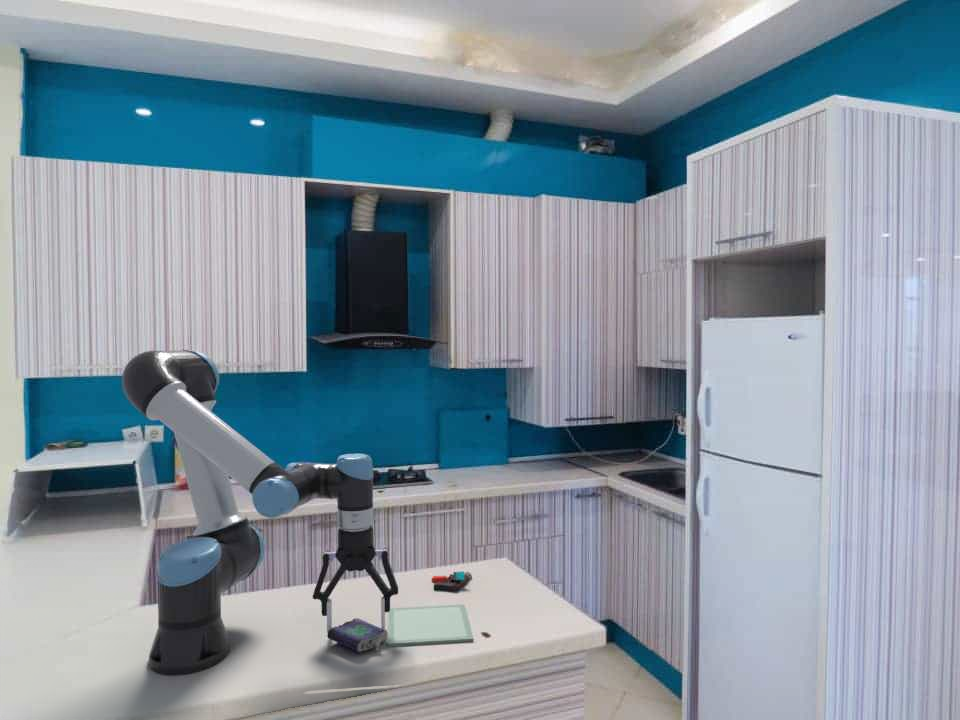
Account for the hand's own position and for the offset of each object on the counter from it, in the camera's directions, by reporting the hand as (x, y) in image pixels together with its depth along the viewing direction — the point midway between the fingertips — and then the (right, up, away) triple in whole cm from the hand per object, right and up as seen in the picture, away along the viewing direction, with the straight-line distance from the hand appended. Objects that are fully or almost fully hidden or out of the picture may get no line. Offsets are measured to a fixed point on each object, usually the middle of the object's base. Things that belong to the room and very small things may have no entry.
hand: (356, 628), depth 136 cm
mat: (+15, -2, +6) cm, 16 cm away
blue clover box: (-2, -3, -1) cm, 4 cm away
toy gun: (+19, -2, +31) cm, 36 cm away
